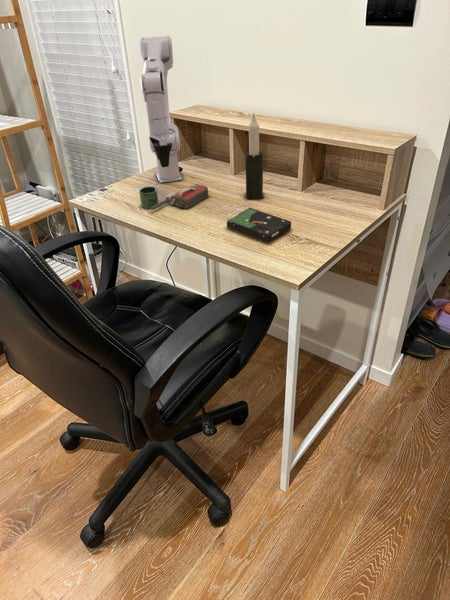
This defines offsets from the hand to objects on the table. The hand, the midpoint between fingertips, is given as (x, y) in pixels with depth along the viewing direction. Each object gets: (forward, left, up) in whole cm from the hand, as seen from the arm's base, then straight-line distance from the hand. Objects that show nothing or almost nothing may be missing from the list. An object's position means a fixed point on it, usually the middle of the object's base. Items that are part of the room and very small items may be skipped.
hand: (163, 163), depth 141 cm
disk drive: (+34, +20, -11) cm, 40 cm away
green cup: (+6, -6, -10) cm, 14 cm away
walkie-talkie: (+9, +3, -11) cm, 14 cm away
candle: (+12, +26, -11) cm, 30 cm away
